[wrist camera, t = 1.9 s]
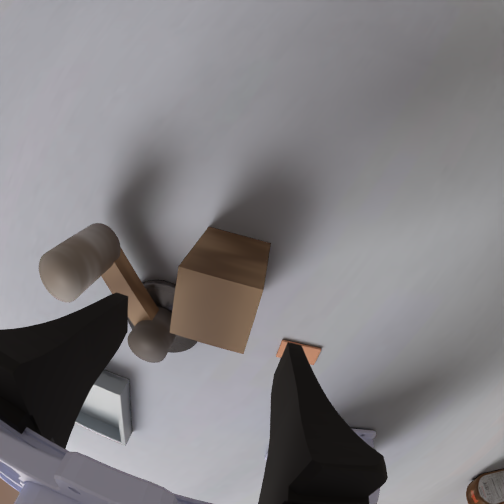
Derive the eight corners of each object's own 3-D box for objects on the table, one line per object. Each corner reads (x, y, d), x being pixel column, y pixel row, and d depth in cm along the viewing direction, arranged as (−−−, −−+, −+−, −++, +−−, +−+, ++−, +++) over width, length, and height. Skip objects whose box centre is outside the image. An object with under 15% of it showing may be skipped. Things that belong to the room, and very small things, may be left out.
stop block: (270, 243, 20) (263, 290, 14) (255, 296, 21) (243, 353, 16) (208, 226, 20) (178, 266, 14) (198, 280, 21) (169, 332, 16)
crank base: (210, 293, 22) (207, 298, 21) (197, 355, 24) (195, 361, 23) (131, 270, 22) (127, 274, 21) (128, 333, 24) (125, 338, 23)
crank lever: (187, 332, 22) (161, 389, 17) (155, 342, 23) (126, 395, 17) (113, 211, 19) (59, 242, 14) (84, 230, 20) (31, 263, 14)
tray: (129, 379, 26) (120, 395, 24) (132, 432, 30) (125, 445, 28) (46, 342, 26) (35, 355, 24) (61, 400, 30) (53, 411, 28)
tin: (460, 483, 32) (470, 520, 24) (472, 473, 31) (484, 512, 23) (508, 471, 32) (519, 502, 24) (519, 462, 30) (531, 494, 23)
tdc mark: (320, 348, 22) (321, 349, 22) (313, 363, 23) (313, 364, 23) (282, 339, 22) (282, 341, 22) (276, 355, 23) (276, 356, 23)
